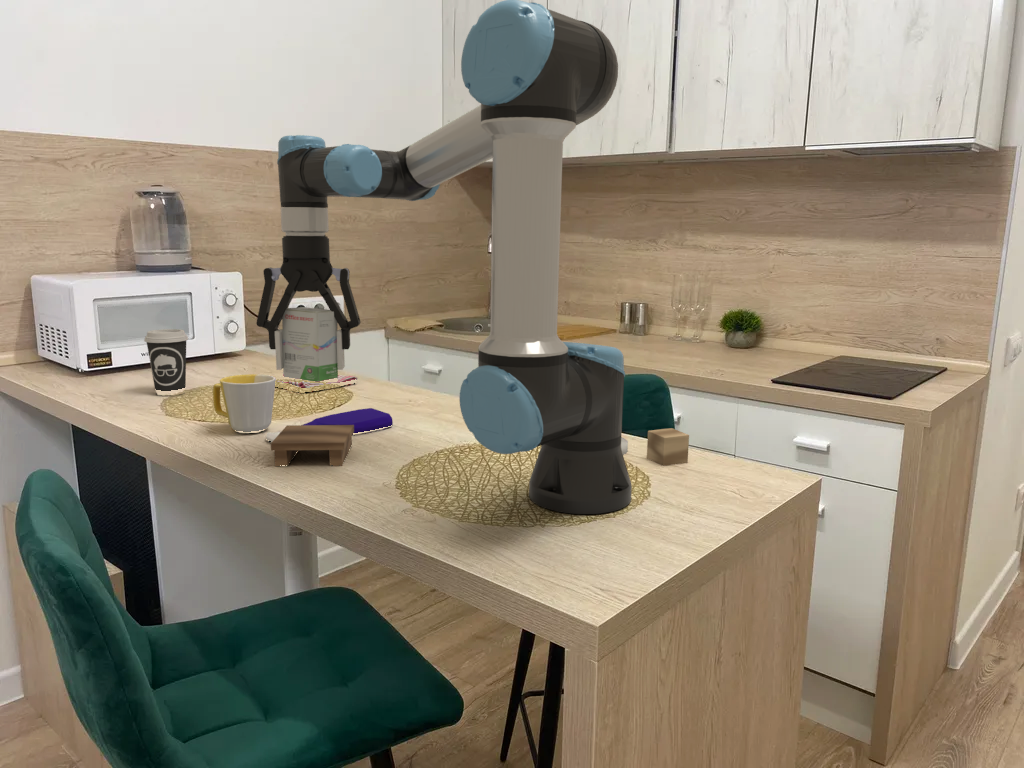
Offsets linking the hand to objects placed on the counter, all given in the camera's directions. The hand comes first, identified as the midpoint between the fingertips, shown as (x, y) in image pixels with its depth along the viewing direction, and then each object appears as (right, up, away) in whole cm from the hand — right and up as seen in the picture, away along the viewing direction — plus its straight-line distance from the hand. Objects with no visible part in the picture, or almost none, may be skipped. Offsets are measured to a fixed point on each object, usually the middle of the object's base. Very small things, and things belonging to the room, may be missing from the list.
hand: (311, 368), depth 131 cm
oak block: (+61, -16, +2) cm, 63 cm away
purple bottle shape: (-1, -13, +19) cm, 23 cm away
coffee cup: (-48, -5, +53) cm, 71 cm away
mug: (-18, -12, +21) cm, 30 cm away
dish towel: (-19, -3, +67) cm, 69 cm away
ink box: (0, -2, 0) cm, 2 cm away
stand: (0, -15, +3) cm, 15 cm away
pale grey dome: (+51, -15, +8) cm, 53 cm away
